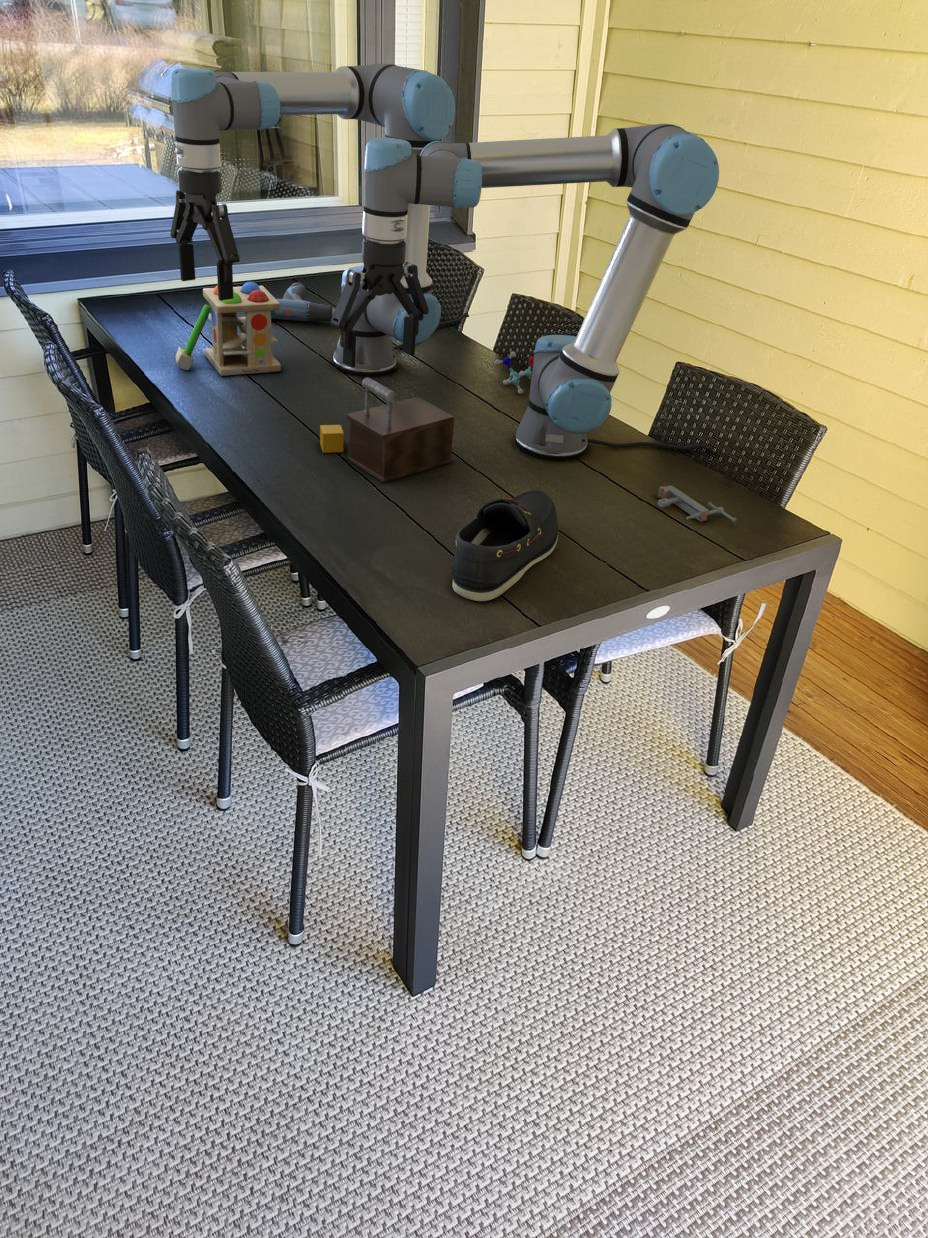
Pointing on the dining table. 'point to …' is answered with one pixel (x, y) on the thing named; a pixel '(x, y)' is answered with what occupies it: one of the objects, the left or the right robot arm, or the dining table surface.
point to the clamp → (669, 498)
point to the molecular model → (513, 374)
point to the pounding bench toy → (229, 347)
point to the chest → (400, 451)
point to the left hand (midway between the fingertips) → (206, 289)
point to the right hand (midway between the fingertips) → (379, 359)
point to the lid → (396, 413)
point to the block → (331, 438)
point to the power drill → (301, 306)
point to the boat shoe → (503, 544)
